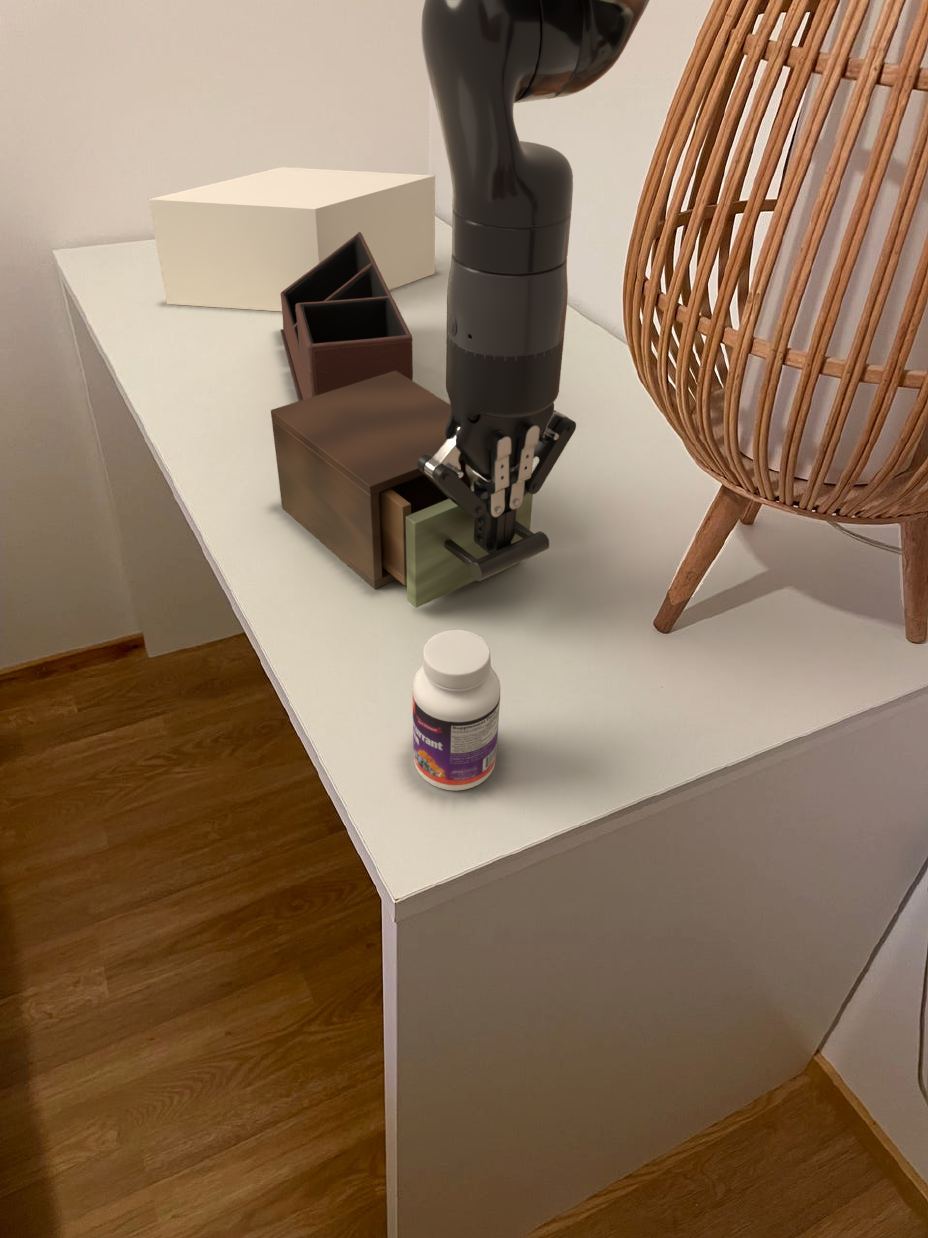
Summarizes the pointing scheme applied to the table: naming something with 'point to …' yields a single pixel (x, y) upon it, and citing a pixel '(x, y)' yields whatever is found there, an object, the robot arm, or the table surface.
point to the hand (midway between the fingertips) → (494, 547)
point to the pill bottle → (455, 711)
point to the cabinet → (354, 460)
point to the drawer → (443, 540)
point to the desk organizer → (343, 324)
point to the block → (288, 232)
